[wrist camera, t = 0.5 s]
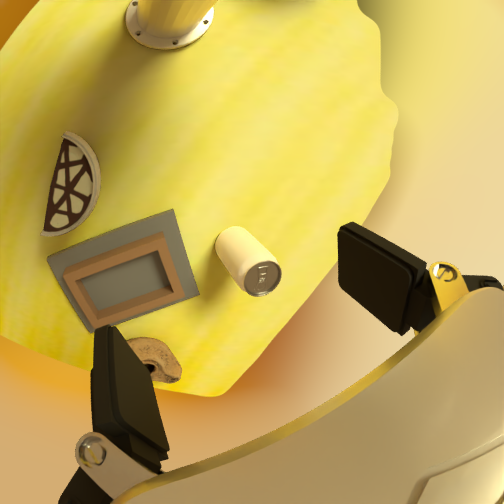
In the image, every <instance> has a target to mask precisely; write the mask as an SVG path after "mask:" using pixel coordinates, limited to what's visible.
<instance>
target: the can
mask: <svg viewBox="0 0 504 504" xmlns="http://www.w3.org/2000/svg"><path fill="white" fill-rule="evenodd" d="M215 250H216V253H217V255H218V257H219V258H220V260H221V261H222V263H223V264H224V266H225V267H226V269H227V270H228V271H229V273H230V274H231V276H232V277H233V279H234V280H235V282H236V283H237V284H238V286H239V287H240V288H241V289H242V290H243V291H245V292H247V293H248V294H249V295H251V296H255V297H260V296H264V295H267V294H269V293H270V292H272V291H273V290H274V289H275V288H276V287H277V285H278V284H279V282H280V280H281V274H282V273H281V268H280V266H279V265H278V262H277V260H276V258H275V257H274V256H273V255H272V254H271V253H270V252H269V251H268V250H267V249H266V248H265V247H264V246H263V245H262V244H261V243H260V242H259V241H258V240H256V239H255V238H254V237H253V236H252V235H251V234H250V233H249V232H248V231H247V230H246V229H244V228H242V227H238V226H233V227H229V228H227V229H225V230H224V231H222V232H221V233H220V235H219V236H218V238H217V240H216V243H215Z"/></svg>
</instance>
